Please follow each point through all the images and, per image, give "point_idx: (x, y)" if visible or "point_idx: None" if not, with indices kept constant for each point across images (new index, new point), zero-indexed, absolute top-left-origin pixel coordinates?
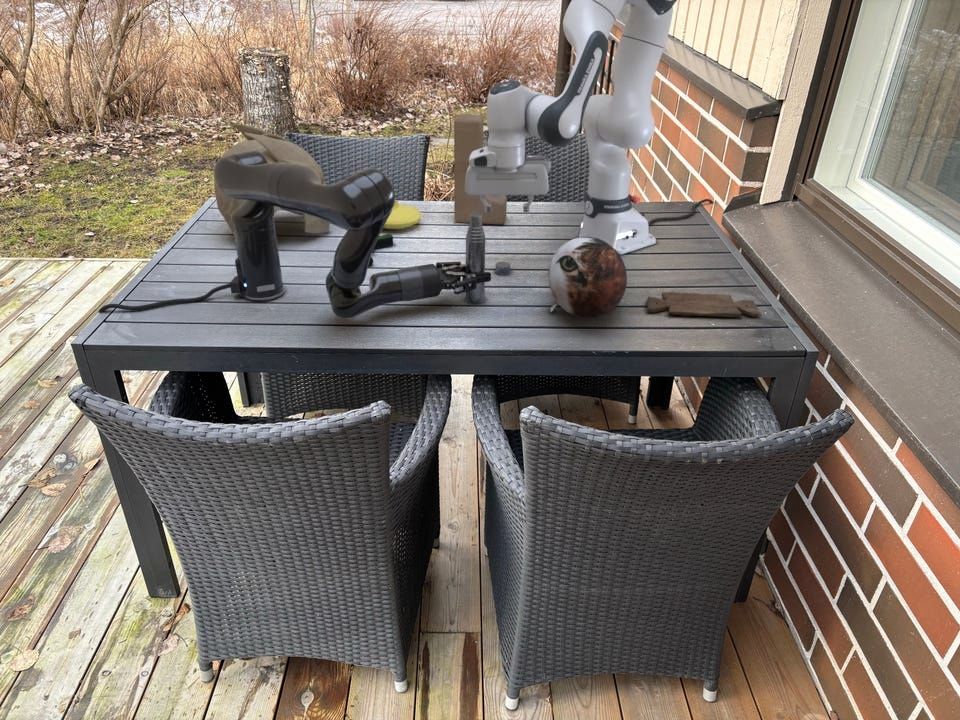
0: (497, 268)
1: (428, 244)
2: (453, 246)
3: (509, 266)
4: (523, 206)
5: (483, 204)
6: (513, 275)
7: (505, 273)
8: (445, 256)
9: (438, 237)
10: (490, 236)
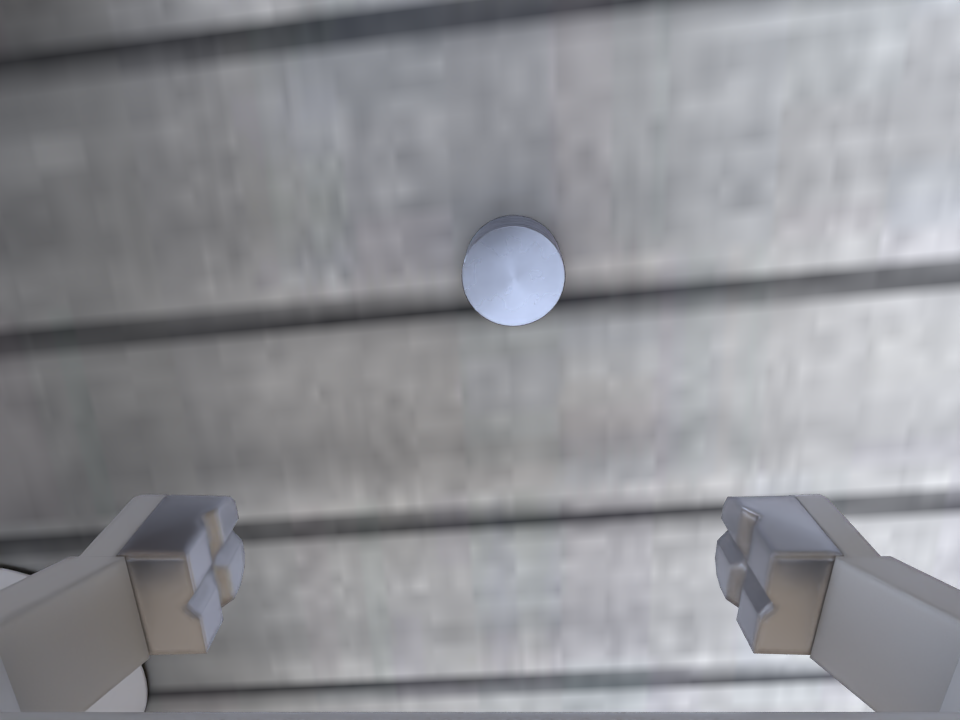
0: (550, 238)
1: None
2: None
3: (467, 253)
4: (188, 546)
5: (923, 574)
6: (442, 220)
7: (494, 221)
8: (867, 462)
9: None
10: (590, 708)
